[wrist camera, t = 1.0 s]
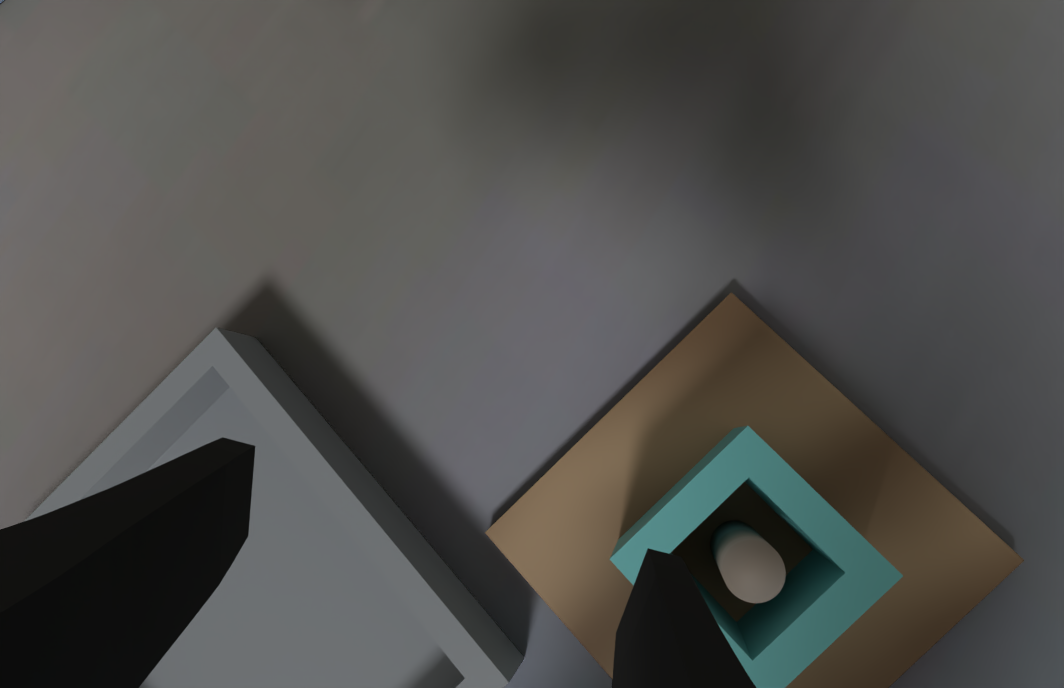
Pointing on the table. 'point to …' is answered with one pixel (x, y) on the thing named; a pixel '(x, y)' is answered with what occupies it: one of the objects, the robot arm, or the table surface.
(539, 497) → the stake board
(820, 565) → the teal hollow block
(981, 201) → the table surface
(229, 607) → the tray
